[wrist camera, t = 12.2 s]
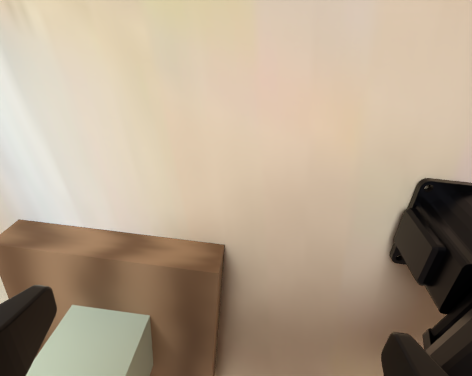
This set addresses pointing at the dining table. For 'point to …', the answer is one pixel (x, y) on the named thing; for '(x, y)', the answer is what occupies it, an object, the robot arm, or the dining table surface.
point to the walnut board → (125, 284)
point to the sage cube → (97, 345)
